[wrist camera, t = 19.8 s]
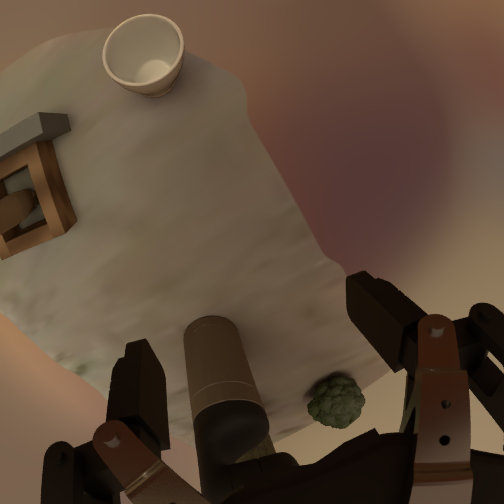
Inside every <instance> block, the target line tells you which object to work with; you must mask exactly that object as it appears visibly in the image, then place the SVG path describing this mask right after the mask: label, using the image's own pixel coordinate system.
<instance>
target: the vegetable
mask: <svg viewBox="0 0 504 504" xmlns="http://www.w3.org/2000/svg"><path fill="white" fill-rule="evenodd" d="M364 404H365V398H364V395H363V394H362V393H361V389H360V388H359V386H357V383H356V382H355V380H354V379H351V378H348V377H345V376H337V377H332V378H331V380H330V381H327V382H323V383H322V384H320V385H318V386H317V387H316V390H315V392H314V399H313V400H311V401H310V403H309V404H308V405H307V408H308V413H309V414H310V415H311V416H312V417H313V419H314V420H315V421H319V422H320V423H321V424H323V425H325V426H331V427H332V428H339V429H343V428H346V427H348V426H349V425H350V424H351V423H352V422H354V421H355V420H356V419H357V418H358V417H359V416H360V414H361V408H362V407H363V406H364Z"/></svg>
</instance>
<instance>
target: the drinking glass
mask: <svg viewBox="0 0 504 504" xmlns="http://www.w3.org/2000/svg"><path fill="white" fill-rule="evenodd" d="M183 60H184V39H183V35H182V32H181V31H180V29H179V27H178V26H177V25H176V24H175V23H174V22H173V21H172V20H170V19H168V18H166V17H164V16H161V15H156V14H143V15H138V16H135V17H132V18H129V19H128V20H126V21H124V22H122V23H121V24H120V25H118V26H117V27H116V28H115V29H114V30H113V31H112V32H111V34H110V35H109V37H108V38H107V40H106V42H105V45H104V48H103V64H104V67H105V69H106V71H107V73H108V74H109V75H110V76H111V77H112V79H113V80H114V81H115V82H116V83H118V84H119V85H120V86H122V87H123V88H125V89H127V90H129V91H132V92H135V93H139V94H142V95H144V96H146V97H160V96H162V95H164V94H166V93H168V92H169V91H170V90H171V89H172V87H173V86H174V84H175V82H176V78H177V76H178V74H179V72H180V69H181V67H182V64H183Z"/></svg>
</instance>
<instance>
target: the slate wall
mask: <svg viewBox="0 0 504 504" xmlns="http://www.w3.org/2000/svg"><path fill="white" fill-rule="evenodd" d="M69 131H71V129H70V125H69V121H68V117H67V114H58V113H43V112H38V113H36V114H34V115H32V116H30V117H29V118H27V119H25V120H23V121H22V122H20V123H18V124H16V125H15V126H13V127H11V128H10V129H8V130H7V131H5V132H3V133H2V134H0V162H2V161H3V160H5V159H7V158H8V157H10V156H12V155H14V154H15V153H17V152H19V151H21V150H22V149H24V148H26V147H28V146H30V145H31V144H33V143H35V142H40V141H47V140H52V139H54V138H56V137H58V136H60V135H62V134H65V133H67V132H69Z"/></svg>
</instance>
